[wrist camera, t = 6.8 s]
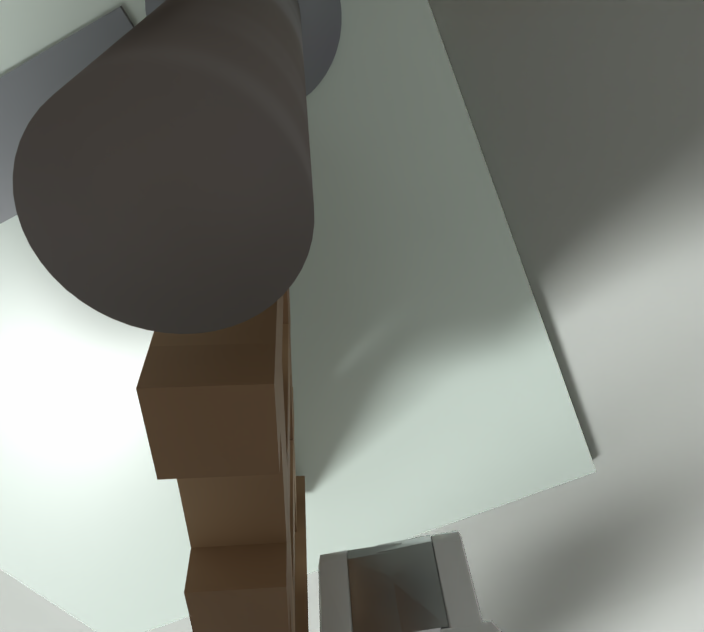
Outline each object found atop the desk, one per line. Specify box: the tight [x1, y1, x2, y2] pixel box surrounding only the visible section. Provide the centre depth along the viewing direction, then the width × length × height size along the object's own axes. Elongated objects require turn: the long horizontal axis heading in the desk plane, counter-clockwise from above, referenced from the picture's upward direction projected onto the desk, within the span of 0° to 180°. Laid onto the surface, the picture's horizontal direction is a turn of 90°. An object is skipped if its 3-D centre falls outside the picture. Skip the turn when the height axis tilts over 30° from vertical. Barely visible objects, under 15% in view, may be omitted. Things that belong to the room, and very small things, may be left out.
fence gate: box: [136, 289, 308, 632], centre depth 10 cm, size 1×10×6 cm, turn 178°
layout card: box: [0, 0, 596, 632], centre depth 10 cm, size 15×25×1 cm, turn 25°
